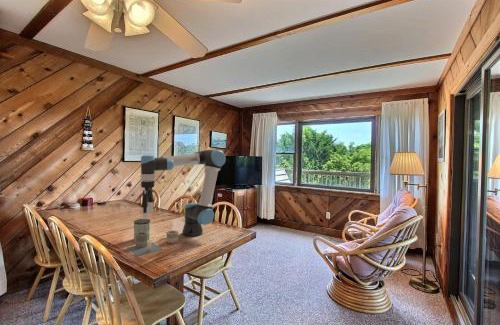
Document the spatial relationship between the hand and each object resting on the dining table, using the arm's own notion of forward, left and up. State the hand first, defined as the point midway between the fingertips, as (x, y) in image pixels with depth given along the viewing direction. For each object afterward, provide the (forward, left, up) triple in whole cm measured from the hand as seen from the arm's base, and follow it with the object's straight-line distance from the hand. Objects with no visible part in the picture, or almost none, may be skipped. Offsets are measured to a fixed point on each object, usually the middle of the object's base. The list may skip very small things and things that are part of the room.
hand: (148, 215), depth 157 cm
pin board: (+1, -2, -22) cm, 22 cm away
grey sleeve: (+1, -8, -21) cm, 22 cm away
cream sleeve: (-17, -2, -22) cm, 28 cm away
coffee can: (-4, -20, -22) cm, 30 cm away
